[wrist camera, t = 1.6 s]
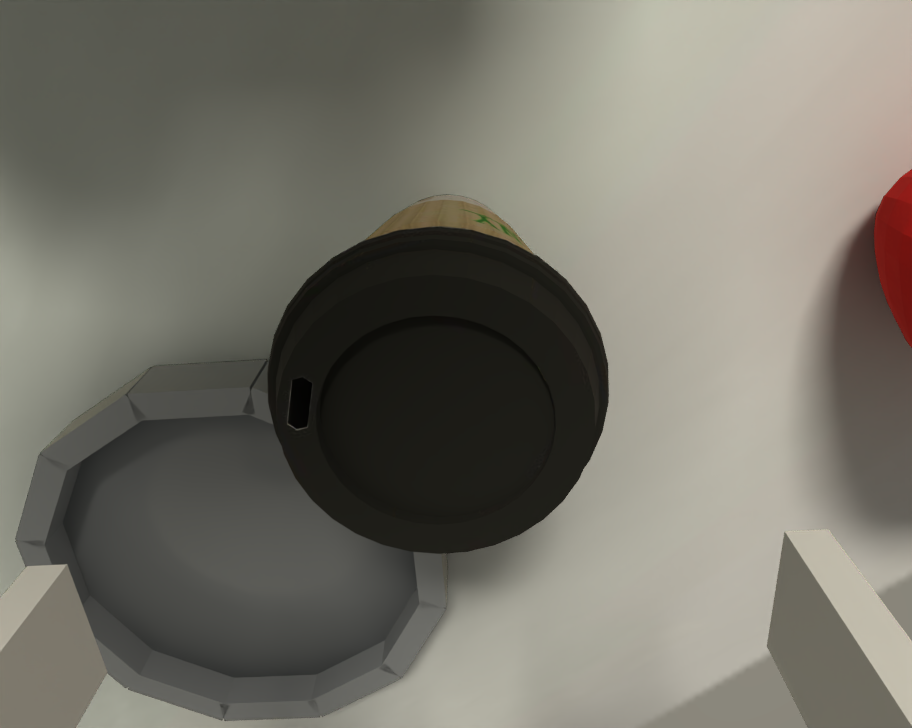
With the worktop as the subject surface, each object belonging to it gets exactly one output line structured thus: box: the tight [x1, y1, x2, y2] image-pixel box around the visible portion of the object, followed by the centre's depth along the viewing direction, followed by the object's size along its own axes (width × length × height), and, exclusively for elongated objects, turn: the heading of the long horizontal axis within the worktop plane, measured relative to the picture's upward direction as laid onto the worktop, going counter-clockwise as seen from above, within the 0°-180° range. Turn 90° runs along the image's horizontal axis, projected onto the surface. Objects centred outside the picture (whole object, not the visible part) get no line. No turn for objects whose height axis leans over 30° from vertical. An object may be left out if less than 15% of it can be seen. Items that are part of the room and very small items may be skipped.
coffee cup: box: [267, 195, 609, 554], centre depth 25 cm, size 10×10×15 cm
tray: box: [15, 359, 448, 721], centre depth 38 cm, size 21×21×3 cm
